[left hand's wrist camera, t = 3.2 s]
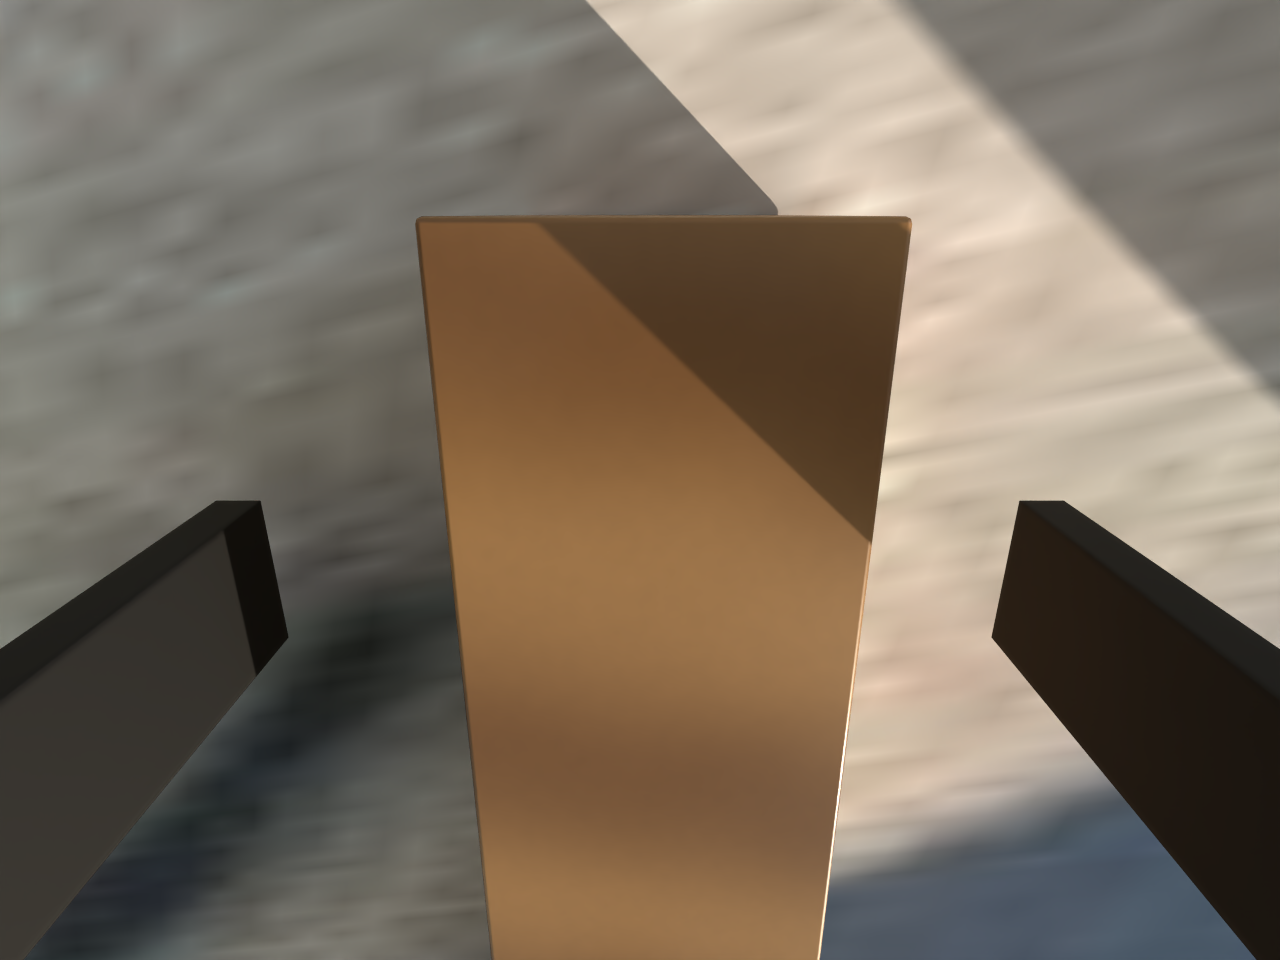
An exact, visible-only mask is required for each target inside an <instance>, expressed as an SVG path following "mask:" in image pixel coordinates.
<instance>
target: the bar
mask: <svg viewBox="0 0 1280 960" xmlns="http://www.w3.org/2000/svg"><path fill="white" fill-rule="evenodd" d="M415 227H416V237H417V246H418V256H419V265H420V275H421V285H422V294H423V304H424V314H425V323H426V333H427V342H428V352H429V362H430V371H431V381H432V390H433V400H434V410H435V419H436V429H437V439H438V448H439V458H440V467H441V477H442V487H443V496H444V506H445V516H446V525H447V535H448V544H449V554H450V564H451V573H452V583H453V593H454V602H455V612H456V621H457V631H458V641H459V650H460V660H461V670H462V679H463V689H464V698H465V708H466V718H467V727H468V737H469V746H470V756H471V766H472V775H473V785H474V795H475V804H476V814H477V823H478V833H479V843H480V852H481V862H482V872H483V881H484V891H485V900H486V910H487V920H488V929H489V939H490V949H491V958H492V960H820V952H821V944H822V936H823V928H824V920H825V912H826V904H827V896H828V888H829V880H830V872H831V864H832V856H833V848H834V840H835V832H836V824H837V817H838V809H839V801H840V793H841V785H842V777H843V769H844V761H845V753H846V745H847V737H848V729H849V721H850V713H851V705H852V697H853V689H854V681H855V673H856V666H857V658H858V650H859V642H860V634H861V626H862V618H863V610H864V602H865V594H866V586H867V578H868V570H869V562H870V554H871V546H872V538H873V530H874V523H875V515H876V507H877V499H878V491H879V483H880V475H881V467H882V459H883V451H884V443H885V435H886V427H887V419H888V411H889V403H890V395H891V387H892V379H893V372H894V364H895V356H896V348H897V340H898V332H899V324H900V316H901V308H902V300H903V292H904V284H905V276H906V268H907V260H908V252H909V244H910V236H911V229H912V222H911V219H910V218H908V217H906V216H804V215H510V216H421V217H419V218H417V219H416V223H415Z"/></svg>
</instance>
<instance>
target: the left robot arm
mask: <svg viewBox="0 0 1280 960" xmlns="http://www.w3.org/2000/svg"><path fill="white" fill-rule="evenodd" d="M287 638H288V633H287V628H286V623H285V618H284V613H283V608H282V603H281V599H280V594H279V589H278V584H277V579H276V574H275V569H274V564H273V559H272V555H271V550H270V545H269V540H268V535H267V530H266V525H265V520H264V515H263V511H262V506H261V501H215V502H214V503H212V504H211V505H209V506H208V507H206V508H205V509H203V510H202V511H201V512H199V513H198V514H196V515H195V516H193V517H192V518H190V519H189V520H187V521H186V522H185V523H183V524H182V525H180V526H179V527H177V528H176V529H174V530H173V531H171V532H170V533H169V534H167V535H166V536H164V537H163V538H161V539H160V540H158V541H157V542H155V543H154V544H153V545H151V546H150V547H148V548H147V549H145V550H144V551H142V552H141V553H139V554H138V555H137V556H135V557H134V558H132V559H131V560H129V561H128V562H126V563H125V564H123V565H122V566H121V567H119V568H118V569H116V570H115V571H113V572H112V573H110V574H109V575H107V576H106V577H105V578H103V579H102V580H100V581H99V582H97V583H96V584H94V585H93V586H91V587H90V588H88V589H87V590H86V591H84V592H83V593H81V594H80V595H78V596H77V597H75V598H74V599H72V600H71V601H70V602H68V603H67V604H65V605H64V606H62V607H61V608H59V609H58V610H56V611H55V612H54V613H52V614H51V615H49V616H48V617H46V618H45V619H43V620H42V621H40V622H39V623H38V624H36V625H35V626H33V627H32V628H30V629H29V630H27V631H26V632H24V633H23V634H22V635H20V636H19V637H17V638H16V639H14V640H13V641H11V642H10V643H8V644H7V645H6V646H4V647H3V648H1V649H0V960H24V958H25V957H26V956H27V955H28V954H29V952H30V951H31V950H32V949H33V948H34V946H35V945H36V944H37V943H38V941H39V940H40V939H41V938H42V937H43V935H44V934H45V933H46V932H47V930H48V929H49V928H50V927H51V926H52V924H53V923H54V922H55V921H56V920H57V918H58V917H59V916H60V915H61V913H62V912H63V911H64V910H65V909H66V907H67V906H68V905H69V904H70V902H71V901H72V900H73V899H74V898H75V896H76V895H77V894H78V893H79V892H80V890H81V889H82V888H83V887H84V885H85V884H86V883H87V882H88V881H89V879H90V878H91V877H92V876H93V874H94V873H95V872H96V871H97V870H98V868H99V867H100V866H101V865H102V864H103V862H104V861H105V860H106V859H107V857H108V856H109V855H110V854H111V853H112V851H113V850H114V849H115V848H116V847H117V845H118V844H119V843H120V842H121V840H122V839H123V838H124V837H125V836H126V834H127V833H128V832H129V831H130V829H131V828H132V827H133V826H134V825H135V823H136V822H137V821H138V820H139V819H140V817H141V816H142V815H143V814H144V812H145V811H146V810H147V809H148V808H149V806H150V805H151V804H152V803H153V801H154V800H155V799H156V798H157V797H158V795H159V794H160V793H161V792H162V791H163V789H164V788H165V787H166V786H167V784H168V783H169V782H170V781H171V780H172V778H173V777H174V776H175V775H176V774H177V772H178V771H179V770H180V769H181V767H182V766H183V765H184V764H185V763H186V761H187V760H188V759H189V758H190V756H191V755H192V754H193V753H194V752H195V750H196V749H197V748H198V747H199V746H200V744H201V743H202V742H203V741H204V739H205V738H206V737H207V736H208V735H209V733H210V732H211V731H212V730H213V728H214V727H215V726H216V725H217V724H218V722H219V721H220V720H221V719H222V718H223V716H224V715H225V714H226V713H227V711H228V710H229V709H230V708H231V707H232V705H233V704H234V703H235V702H236V700H237V699H238V698H239V697H240V696H241V694H242V693H243V692H244V691H245V690H246V688H247V687H248V686H249V685H250V683H251V682H252V681H253V680H254V679H255V677H256V676H257V675H258V674H259V673H260V671H261V670H262V669H263V668H264V666H265V665H266V664H267V663H268V662H269V660H270V659H271V658H272V657H273V655H274V654H275V653H276V652H277V651H278V649H279V648H280V647H281V646H282V645H283V643H284V642H285V641H286V640H287ZM992 638H993V640H994V641H995V642H996V643H997V645H998V646H999V647H1000V648H1001V649H1002V651H1003V652H1004V653H1005V654H1006V655H1007V657H1008V658H1009V659H1010V660H1011V662H1012V663H1013V664H1014V665H1015V666H1016V668H1017V669H1018V670H1019V671H1020V673H1021V674H1022V675H1023V676H1024V677H1025V679H1026V680H1027V681H1028V682H1029V683H1030V685H1031V686H1032V687H1033V688H1034V690H1035V691H1036V692H1037V693H1038V694H1039V696H1040V697H1041V698H1042V699H1043V701H1044V702H1045V703H1046V704H1047V705H1048V707H1049V708H1050V709H1051V710H1052V711H1053V713H1054V714H1055V715H1056V716H1057V718H1058V719H1059V720H1060V721H1061V722H1062V724H1063V725H1064V726H1065V727H1066V728H1067V730H1068V731H1069V732H1070V733H1071V735H1072V736H1073V737H1074V738H1075V739H1076V741H1077V742H1078V743H1079V744H1080V746H1081V747H1082V748H1083V749H1084V750H1085V752H1086V753H1087V754H1088V755H1089V756H1090V758H1091V759H1092V760H1093V761H1094V763H1095V764H1096V765H1097V766H1098V767H1099V769H1100V770H1101V771H1102V772H1103V774H1104V775H1105V776H1106V777H1107V778H1108V780H1109V781H1110V782H1111V783H1112V784H1113V786H1114V787H1115V788H1116V789H1117V791H1118V792H1119V793H1120V794H1121V795H1122V797H1123V798H1124V799H1125V800H1126V801H1127V803H1128V804H1129V805H1130V806H1131V808H1132V809H1133V810H1134V811H1135V812H1136V814H1137V815H1138V816H1139V817H1140V819H1141V820H1142V821H1143V822H1144V823H1145V825H1146V826H1147V827H1148V828H1149V829H1150V831H1151V832H1152V833H1153V834H1154V836H1155V837H1156V838H1157V839H1158V840H1159V842H1160V843H1161V844H1162V845H1163V847H1164V848H1165V849H1166V850H1167V851H1168V853H1169V854H1170V855H1171V856H1172V857H1173V859H1174V860H1175V861H1176V862H1177V864H1178V865H1179V866H1180V867H1181V868H1182V870H1183V871H1184V872H1185V873H1186V874H1187V876H1188V877H1189V878H1190V879H1191V881H1192V882H1193V883H1194V884H1195V885H1196V887H1197V888H1198V889H1199V890H1200V892H1201V893H1202V894H1203V895H1204V896H1205V898H1206V899H1207V900H1208V901H1209V902H1210V904H1211V905H1212V906H1213V907H1214V909H1215V910H1216V911H1217V912H1218V913H1219V915H1220V916H1221V917H1222V918H1223V920H1224V921H1225V922H1226V923H1227V924H1228V926H1229V927H1230V928H1231V929H1232V930H1233V932H1234V933H1235V934H1236V935H1237V937H1238V938H1239V939H1240V940H1241V941H1242V943H1243V944H1244V945H1245V946H1246V948H1247V949H1248V950H1249V951H1250V952H1251V954H1252V955H1253V956H1254V957H1255V958H1256V960H1280V649H1279V648H1277V647H1276V646H1274V645H1273V644H1272V643H1270V642H1269V641H1267V640H1266V639H1264V638H1263V637H1261V636H1260V635H1258V634H1257V633H1256V632H1254V631H1253V630H1251V629H1250V628H1248V627H1247V626H1245V625H1244V624H1242V623H1241V622H1240V621H1238V620H1237V619H1235V618H1234V617H1232V616H1231V615H1229V614H1228V613H1226V612H1225V611H1224V610H1222V609H1221V608H1219V607H1218V606H1216V605H1215V604H1213V603H1212V602H1210V601H1209V600H1208V599H1206V598H1205V597H1203V596H1202V595H1200V594H1199V593H1197V592H1196V591H1194V590H1193V589H1192V588H1190V587H1189V586H1187V585H1186V584H1184V583H1183V582H1181V581H1180V580H1178V579H1177V578H1175V577H1174V576H1173V575H1171V574H1170V573H1168V572H1167V571H1165V570H1164V569H1162V568H1161V567H1159V566H1158V565H1157V564H1155V563H1154V562H1152V561H1151V560H1149V559H1148V558H1146V557H1145V556H1143V555H1142V554H1141V553H1139V552H1138V551H1136V550H1135V549H1133V548H1132V547H1130V546H1129V545H1127V544H1126V543H1125V542H1123V541H1122V540H1120V539H1119V538H1117V537H1116V536H1114V535H1113V534H1111V533H1110V532H1109V531H1107V530H1106V529H1104V528H1103V527H1101V526H1100V525H1098V524H1097V523H1095V522H1094V521H1093V520H1091V519H1090V518H1088V517H1087V516H1085V515H1084V514H1082V513H1081V512H1079V511H1078V510H1077V509H1075V508H1074V507H1072V506H1071V505H1069V504H1068V503H1066V502H1065V501H1019V506H1018V511H1017V515H1016V520H1015V525H1014V530H1013V535H1012V540H1011V545H1010V550H1009V555H1008V559H1007V564H1006V569H1005V574H1004V579H1003V584H1002V589H1001V594H1000V599H999V603H998V608H997V613H996V618H995V623H994V628H993V633H992Z"/></svg>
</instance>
